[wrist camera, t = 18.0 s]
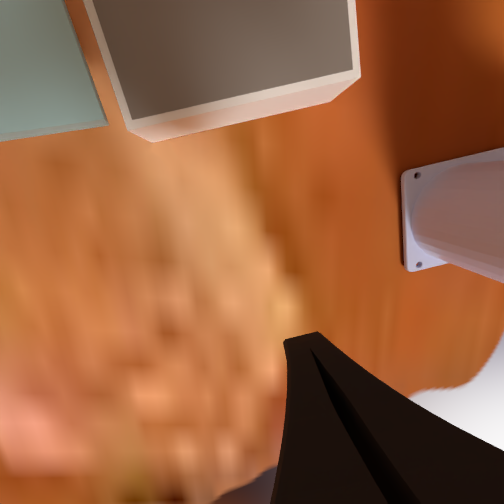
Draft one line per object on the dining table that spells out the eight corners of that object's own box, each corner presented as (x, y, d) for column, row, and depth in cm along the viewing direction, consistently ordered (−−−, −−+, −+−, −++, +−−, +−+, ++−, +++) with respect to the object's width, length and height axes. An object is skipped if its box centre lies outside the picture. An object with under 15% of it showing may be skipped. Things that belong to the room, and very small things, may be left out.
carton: (309, -79, 13) (341, -186, 9) (329, 101, 16) (361, 76, 12) (96, -33, 13) (40, -122, 9) (152, 142, 16) (127, 130, 12)
